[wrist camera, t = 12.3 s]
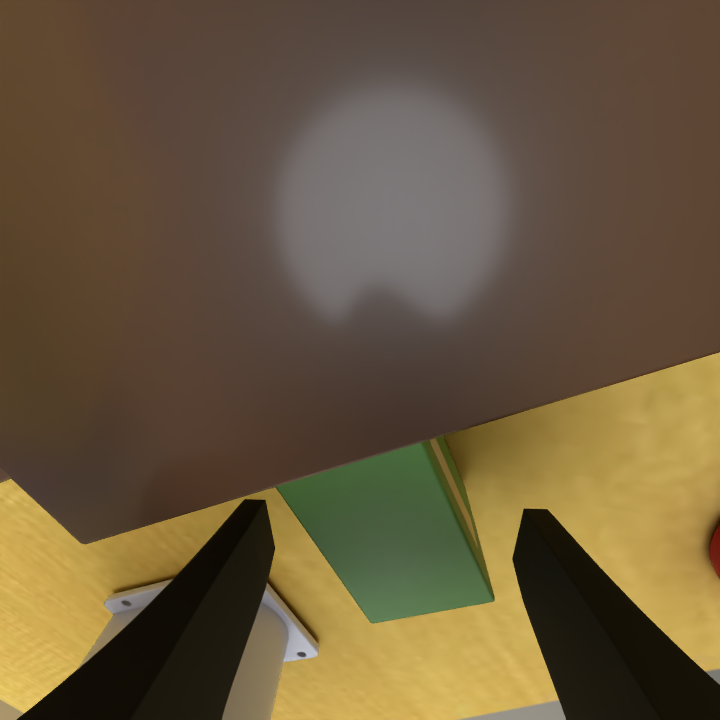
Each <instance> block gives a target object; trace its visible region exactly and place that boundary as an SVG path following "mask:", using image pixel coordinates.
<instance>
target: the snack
mask: <svg viewBox="0 0 720 720" xmlns="http://www.w3.org/2000/svg"><path fill="white" fill-rule="evenodd" d="M276 489H277V490H278V491H279V493H280V494H281V496H282V497H283V499H284V500H285V501H286V503H287V504H288V506H289V507H290V509H291V510H292V511H293V513H294V514H295V516H296V517H297V519H298V520H299V521H300V523H301V524H302V526H303V527H304V528H305V530H306V531H307V533H308V534H309V536H310V537H311V538H312V540H313V541H314V543H315V544H316V546H317V547H318V548H319V550H320V551H321V553H322V554H323V556H324V557H325V558H326V560H327V561H328V563H329V564H330V566H331V567H332V568H333V570H334V571H335V573H336V574H337V576H338V577H339V578H340V580H341V581H342V583H343V584H344V586H345V587H346V588H347V590H348V591H349V593H350V594H351V596H352V597H353V598H354V600H355V601H356V603H357V604H358V606H359V607H360V608H361V610H362V611H363V613H364V614H365V616H366V617H367V618H368V620H369V621H370V623H378V622H384V621H390V620H395V619H401V618H406V617H412V616H417V615H423V614H428V613H434V612H439V611H445V610H450V609H456V608H461V607H467V606H472V605H478V604H484V603H489V602H493V601H494V598H495V597H494V593H493V590H492V586H491V582H490V578H489V575H488V571H487V567H486V564H485V560H484V556H483V552H482V549H481V545H480V541H479V538H478V534H477V530H476V526H475V523H474V519H473V515H472V512H471V508H470V504H469V500H468V497H467V493H466V489H465V486H464V484H463V481H462V479H461V477H460V474H459V472H458V470H457V467H456V465H455V463H454V460H453V458H452V455H451V453H450V451H449V448H448V446H447V444H446V441H445V439H444V437H443V436H441V437H438V438H435V439H432V440H428V441H425V442H422V443H418V444H415V445H412V446H408V447H405V448H402V449H399V450H395V451H392V452H389V453H385V454H382V455H379V456H375V457H372V458H369V459H366V460H362V461H359V462H356V463H352V464H349V465H346V466H342V467H339V468H336V469H333V470H329V471H326V472H323V473H319V474H316V475H313V476H310V477H306V478H303V479H300V480H296V481H293V482H290V483H286V484H283V485H280V486H277V487H276Z"/></svg>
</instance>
